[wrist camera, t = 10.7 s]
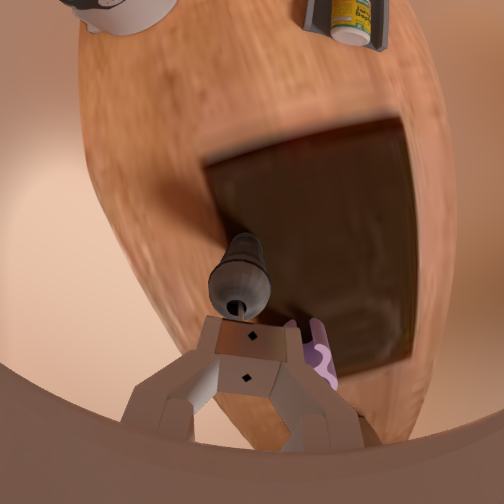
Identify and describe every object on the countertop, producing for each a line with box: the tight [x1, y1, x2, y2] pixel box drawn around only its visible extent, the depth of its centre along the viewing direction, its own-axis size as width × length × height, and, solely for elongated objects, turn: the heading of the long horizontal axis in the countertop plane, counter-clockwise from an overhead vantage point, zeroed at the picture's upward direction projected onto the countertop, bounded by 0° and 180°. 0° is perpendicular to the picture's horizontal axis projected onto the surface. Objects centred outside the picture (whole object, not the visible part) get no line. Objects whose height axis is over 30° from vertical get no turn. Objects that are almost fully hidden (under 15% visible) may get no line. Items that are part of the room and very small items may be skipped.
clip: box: [283, 318, 338, 391], centre depth 48 cm, size 20×12×7 cm, turn 6°
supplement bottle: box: [331, 0, 371, 46], centre depth 23 cm, size 5×5×10 cm
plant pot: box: [358, 417, 383, 448], centre depth 57 cm, size 15×15×16 cm
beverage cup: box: [208, 233, 271, 321], centre depth 32 cm, size 7×7×20 cm
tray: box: [303, 0, 389, 52], centre depth 23 cm, size 13×12×2 cm
